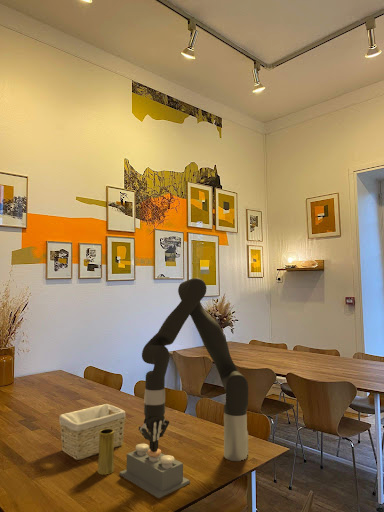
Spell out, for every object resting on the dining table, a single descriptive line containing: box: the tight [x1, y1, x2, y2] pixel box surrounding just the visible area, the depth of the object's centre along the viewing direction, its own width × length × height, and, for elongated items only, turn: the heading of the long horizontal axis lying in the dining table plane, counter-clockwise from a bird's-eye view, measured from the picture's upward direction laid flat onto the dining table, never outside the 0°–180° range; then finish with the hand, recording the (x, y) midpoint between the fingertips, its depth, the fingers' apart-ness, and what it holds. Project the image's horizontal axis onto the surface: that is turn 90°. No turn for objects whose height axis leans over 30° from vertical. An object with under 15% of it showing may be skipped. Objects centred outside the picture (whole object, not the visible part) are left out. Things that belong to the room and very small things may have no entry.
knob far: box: [135, 443, 150, 456], centre depth 139 cm, size 5×5×8 cm
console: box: [119, 446, 191, 499], centre depth 134 cm, size 14×22×7 cm, turn 45°
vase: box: [97, 429, 115, 476], centre depth 140 cm, size 6×6×14 cm
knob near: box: [160, 454, 175, 469], centre depth 129 cm, size 5×5×8 cm
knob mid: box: [148, 448, 162, 462], centre depth 134 cm, size 5×5×8 cm
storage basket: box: [58, 403, 126, 461], centre depth 161 cm, size 24×16×15 cm
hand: (153, 450), depth 135 cm, fingers closed
